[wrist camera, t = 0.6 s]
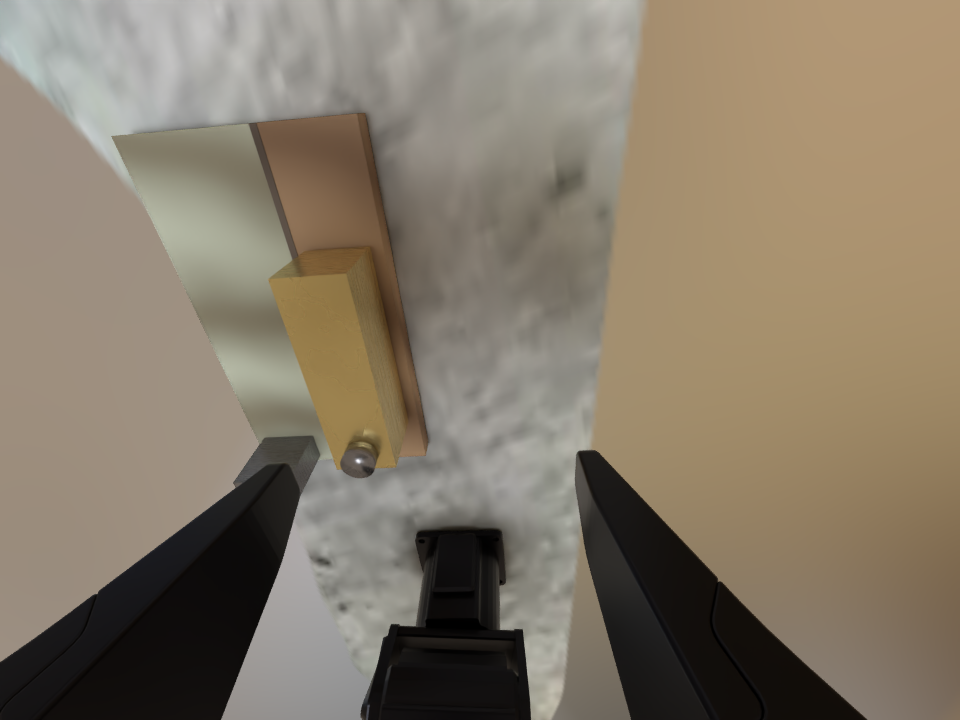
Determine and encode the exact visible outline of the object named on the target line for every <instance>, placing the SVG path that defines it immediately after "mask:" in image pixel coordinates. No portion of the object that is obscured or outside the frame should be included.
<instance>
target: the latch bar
mask: <svg viewBox="0 0 960 720" xmlns="http://www.w3.org/2000/svg"><path fill="white" fill-rule="evenodd" d="M268 281H269V284H270V287H271V289H272V292H273V295H274V298H275V300H276V303H277V306H278V309H279V311H280V314H281V317H282V320H283V322H284V325H285V328H286V331H287V333H288V336H289V339H290V341H291V344H292V347H293V350H294V352H295V355H296V358H297V361H298V363H299V366H300V369H301V372H302V374H303V377H304V380H305V383H306V385H307V388H308V391H309V394H310V396H311V399H312V402H313V405H314V407H315V410H316V413H317V416H318V418H319V421H320V424H321V427H322V429H323V432H324V435H325V438H326V440H327V443H328V446H329V448H330V451H331V454H332V457H333V459H334V462H335V465H336V468H337V470H340V469H342V470H343V471H344V472H345V473H346V474H348V475H350V476H352V477H355V478H365V477H368V476H370V475H371V474H372V473H373V472H374V469H375V468H393V467H396V466H397V463H398V459H399V455H400V451H401V448H402V444H403V440H404V436H405V433H406V429H407V425H408V417H407V412H406V408H405V403H404V399H403V394H402V389H401V385H400V380H399V376H398V371H397V367H396V362H395V357H394V353H393V348H392V344H391V339H390V335H389V330H388V325H387V321H386V316H385V312H384V307H383V302H382V298H381V293H380V289H379V284H378V280H377V275H376V270H375V266H374V261H373V257H372V252H371V248H370V246H369V247H355V248H341V249H327V250H313V251H304V252H303V253H301V254H300V255H299V256H297V257H296V258H295V259H293V260H292V261H291V262H289V263H288V264H287V265H286V266H284V267H283V268H282V269H280V270H279V271H278V272H276V273H275V274H274V275H272V276H271V277H270V278H268Z"/></svg>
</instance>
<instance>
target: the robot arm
mask: <svg viewBox="0 0 960 720" xmlns="http://www.w3.org/2000/svg"><path fill="white" fill-rule="evenodd" d="M575 486H576V493H577V500H578V506H579V513H580V519H581V526H582V532H583V539H584V545H585V550H586V555H587V559H588V564H589V568H590V571H591V575H592V579H593V582H594V586H595V589H596V593H597V597H598V601H599V604H600V608H601V611H602V615H603V618H604V622H605V626H606V630H607V633H608V637H609V640H610V644H611V648H612V651H613V655H614V659H615V662H616V666H617V669H618V673H619V676H620V680H621V684H622V688H623V691H624V695H625V699H626V702H627V705H628V709H629V713H630V717H631V720H867V719H866V718H865V717H864V716H863V715H862V714H860V713H859V712H858V711H857V710H856V709H855V708H854V707H853V706H851V705H850V704H849V703H848V702H847V701H846V700H845V699H844V698H843V697H841V696H840V695H839V694H838V693H837V692H836V691H835V690H834V689H833V688H831V687H830V686H829V685H828V684H827V683H826V682H825V681H824V680H823V679H822V678H820V677H819V676H818V675H817V674H816V673H815V672H814V671H813V670H811V669H810V668H809V667H808V666H807V665H806V664H805V663H804V662H802V660H801V659H799V658H798V657H797V656H796V655H795V654H794V653H793V652H792V651H791V650H790V649H789V648H788V647H786V646H785V645H784V644H783V643H782V642H781V641H780V640H779V639H778V638H777V637H776V636H775V635H774V634H773V633H772V632H770V631H769V630H768V629H767V628H766V627H765V626H764V625H763V624H762V623H761V622H760V621H759V620H758V619H757V618H756V617H755V616H754V615H753V614H752V613H751V612H750V611H749V610H748V609H747V608H746V607H745V606H744V605H743V604H742V603H741V602H740V601H739V600H738V598H737V597H736V596H734V594H733V593H732V592H731V591H730V590H729V589H728V588H727V587H726V586H725V585H724V584H723V583H722V582H718V578H717V577H716V576H715V574H713V572H712V571H711V570H710V569H709V568H708V567H707V566H706V565H705V564H704V563H703V562H702V561H701V560H700V559H699V558H698V557H697V556H696V554H695V553H694V552H693V551H692V550H691V549H690V548H689V547H688V546H687V545H686V544H685V543H684V542H683V541H682V540H681V539H680V538H679V537H678V536H677V534H676V533H675V532H674V531H673V530H672V529H671V528H670V527H669V526H668V525H667V524H666V523H665V522H664V521H663V520H662V519H661V518H660V517H659V516H658V514H657V513H656V512H655V511H654V510H653V509H652V508H651V507H650V506H649V505H648V504H647V503H646V502H645V501H644V500H643V499H642V498H641V497H640V496H639V495H638V493H637V492H636V491H635V490H634V489H633V488H632V487H631V486H630V485H629V484H628V483H627V482H626V481H625V480H624V479H623V478H622V477H621V476H620V475H619V474H618V473H617V472H616V470H615V469H614V468H613V467H612V466H611V465H610V464H609V463H608V462H607V461H606V460H605V459H604V458H603V457H602V456H601V455H600V453H599V452H597V451H595V450H583V451H578V452H577V454H576V469H575ZM299 498H300V488H299V485H298V483H297V480H296V478H295V476H294V474H293V471H292V469H291V467H290V465H289V464H287V463H270V464H267V465H266V466H264V467H263V468H262V469H260V470H259V471H258V472H256V473H255V474H254V475H252V476H251V477H250V478H248V479H247V480H246V481H244V482H243V483H242V484H240V485H239V486H238V487H236V488H235V489H234V490H232V491H231V492H230V493H229V494H227V495H226V496H224V497H223V498H222V499H220V500H219V501H218V502H216V503H215V504H214V505H212V506H211V507H210V508H209V509H207V510H206V511H205V512H203V513H202V514H201V515H199V516H198V517H196V518H195V519H194V520H192V521H191V522H190V523H189V524H187V525H186V526H185V527H183V528H182V529H181V530H179V531H178V532H177V533H175V534H174V535H173V536H171V537H170V538H169V539H167V540H166V541H165V542H163V543H162V544H161V545H159V546H158V547H157V548H155V549H154V550H153V551H151V552H150V553H149V554H147V555H146V556H145V557H143V558H142V559H141V560H139V561H138V562H137V563H135V564H134V565H133V566H131V567H130V568H129V569H127V570H126V571H125V572H123V573H122V574H121V575H119V576H118V577H117V578H115V579H114V580H113V581H111V582H110V583H109V584H107V585H106V586H105V587H103V588H102V589H101V590H99V592H98V594H94V595H92V596H91V597H90V598H89V599H87V600H86V601H85V602H83V603H82V604H80V605H79V606H78V607H77V608H75V609H74V610H73V611H71V612H70V613H68V614H67V615H66V616H64V617H63V618H62V619H60V620H59V621H58V622H56V623H55V624H54V625H52V626H51V627H50V628H48V629H47V630H45V631H44V632H42V633H41V634H40V635H38V636H37V637H36V638H34V639H33V640H31V641H30V642H29V643H27V644H26V645H24V646H23V647H21V648H20V649H19V650H17V651H16V652H14V653H13V654H11V655H10V656H8V657H7V658H6V659H4V660H3V661H1V662H0V720H221V718H222V716H223V713H224V711H225V708H226V705H227V702H228V700H229V698H230V695H231V692H232V690H233V687H234V685H235V682H236V679H237V677H238V674H239V672H240V669H241V667H242V664H243V662H244V659H245V656H246V654H247V651H248V649H249V646H250V643H251V641H252V638H253V636H254V633H255V630H256V628H257V625H258V623H259V620H260V617H261V615H262V613H263V610H264V607H265V605H266V602H267V600H268V597H269V594H270V592H271V589H272V587H273V584H274V582H275V579H276V576H277V574H278V571H279V568H280V565H281V562H282V559H283V556H284V553H285V549H286V546H287V542H288V538H289V535H290V531H291V528H292V524H293V520H294V517H295V513H296V509H297V506H298V502H299ZM415 543H416V547H417V551H418V554H419V558H420V562H421V566H422V570H423V580H422V587H421V593H420V600H419V607H418V614H417V621H416V626H400V625H399V624H391V626H390V629H389V633H388V636H386V637H384V638H383V641H382V646H381V651H380V656H379V660H378V664H377V668H376V671H375V673H374V676H373V679H372V681H371V684H370V686H369V689H368V691H367V694H366V697H365V699H364V702H363V704H362V708H361V718H362V720H531V711H530V696H529V685H528V676H527V666H526V657H525V647H524V637H523V629H514V631H512V630H500V594H499V586H500V585H504V584H505V583H506V575H505V562H504V549H503V537H502V533H501V532H500V531H496V530H492V531H455V532H421V533H418V534H417V535H416V539H415ZM717 582H718V583H717Z"/></svg>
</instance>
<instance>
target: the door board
mask: <svg viewBox="0 0 960 720" xmlns="http://www.w3.org/2000/svg"><path fill="white" fill-rule="evenodd" d="M111 137H112V139H113V141H114V143H115V145H116V147H117V149H118V151H119V153H120V155H121V157H122V159H123V162H124V164H125V166H126V168H127V170H128V172H129V174H130V176H131V178H132V180H133V182H134V184H135V187H136V189H137V191H138V193H139V195H140V197H141V199H142V201H143V203H144V205H145V207H146V209H147V211H148V214H149V216H150V218H151V220H152V222H153V224H154V226H155V228H156V230H157V232H158V234H159V236H160V238H161V241H162V243H163V245H164V247H165V249H166V251H167V253H168V255H169V257H170V259H171V261H172V263H173V265H174V267H175V270H176V271H177V274H178V276H179V278H180V280H181V282H182V284H183V286H184V288H185V290H186V292H187V295H188V296H189V299H190V300H191V303H192V305H193V307H194V309H195V311H196V313H197V315H198V317H199V320H200V322H201V324H202V326H203V328H204V330H205V332H206V334H207V336H208V338H209V340H210V342H211V344H212V347H213V349H214V350H215V353H216V355H217V357H218V359H219V361H220V363H221V365H222V367H223V369H224V371H225V373H226V376H227V378H228V380H229V382H230V384H231V386H232V388H233V390H234V392H235V394H236V396H237V398H238V401H239V402H240V405H241V407H242V409H243V411H244V413H245V415H246V417H247V419H248V421H249V423H250V425H251V427H252V430H253V432H254V434H255V436H256V438H257V440H258V442H259V444H260V443H261V442H262V440H263V439H264V438H266V437H289V436H313V437H314V439H315V442H316V445H317V447H318V450H319V452H320V457H319V459H318V460H329V459H333V457H332V454H331V451H330V448H329V446H328V443H327V440H326V438H325V435H324V432H323V429H322V427H321V424H320V421H319V418H318V416H317V413H316V410H315V407H314V405H313V402H312V399H311V396H310V394H309V391H308V388H307V385H306V383H305V380H304V377H303V374H302V372H301V369H300V366H299V363H298V361H297V358H296V355H295V352H294V350H293V347H292V344H291V341H290V339H289V336H288V333H287V331H286V328H285V325H284V322H283V320H282V317H281V314H280V311H279V309H278V306H277V303H276V300H275V298H274V295H273V292H272V289H271V287H270V284H269V281H268V278H270V277H271V276H272V275H274V274H275V273H276V272H278V271H279V270H280V269H282V268H283V267H284V266H286V265H287V264H288V263H289V262H291V261H292V260H293V259H295V258H296V257H297V256H299V255H300V254H301V253H303V252H304V251H313V250H327V249H341V248H355V247H369V246H370V248H371V252H372V257H373V261H374V266H375V270H376V275H377V280H378V284H379V289H380V293H381V298H382V302H383V307H384V312H385V316H386V321H387V325H388V330H389V335H390V339H391V344H392V348H393V353H394V357H395V362H396V367H397V371H398V376H399V380H400V385H401V389H402V394H403V399H404V403H405V408H406V412H407V417H408V425H407V429H406V433H405V436H404V440H403V444H402V448H401V451H400V455H399V457H406V456H426V451H427V446H428V438H427V433H426V428H425V423H424V417H423V412H422V407H421V402H420V397H419V391H418V386H417V381H416V376H415V371H414V365H413V360H412V355H411V350H410V345H409V339H408V334H407V329H406V324H405V319H404V313H403V308H402V303H401V298H400V293H399V287H398V282H397V277H396V272H395V267H394V262H393V256H392V251H391V246H390V241H389V236H388V230H387V225H386V220H385V215H384V210H383V204H382V199H381V194H380V189H379V184H378V178H377V173H376V168H375V163H374V158H373V152H372V147H371V142H370V137H369V132H368V126H367V121H366V116H365V113H357V114H346V115H335V116H325V117H314V118H303V119H292V120H281V121H271V122H260V123H249V124H238V125H228V126H217V127H206V128H195V129H184V130H174V131H163V132H152V133H141V134H131V135H120V136H111Z"/></svg>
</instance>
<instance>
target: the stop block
mask: <svg viewBox="0 0 960 720" xmlns="http://www.w3.org/2000/svg"><path fill="white" fill-rule="evenodd" d="M319 457H320V452H319V450H318V447H317V445H316V442H315V439H314V437H313V436H289V437H266V438H264V439H263V440H262V442H261V443H260V445H259V446H258V448H257V449H256V451H255V452H254V453H253V455H252V456H251V458H250V459H249V461H248V462H247V464H246V465H245V467H244V468H243V470H242V471H241V472H240V474H239V475H238V477H237V478H236V480H235V481H234V482H233V484H234V485H235V487H238V486H239V485H240V484H242V483H243V482H244V481H246V480H247V479H248V478H250V477H251V476H252V475H254V474H255V473H256V472H258V471H259V470H260V469H262V468H263V467H264V466H266V465H267V464H270V463H287V464H289V465H290V467H291V469H292V471H293V474H294V476H295V478H296V480H297V483H298V485H299V488H300V496H301V494H302V492H303V489H304V487H305V485H306V483H307V481H308V479H309V477H310V475H311V473H312V471H313V469H314V467H315V465H316V463H317V461H318V459H319Z"/></svg>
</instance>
